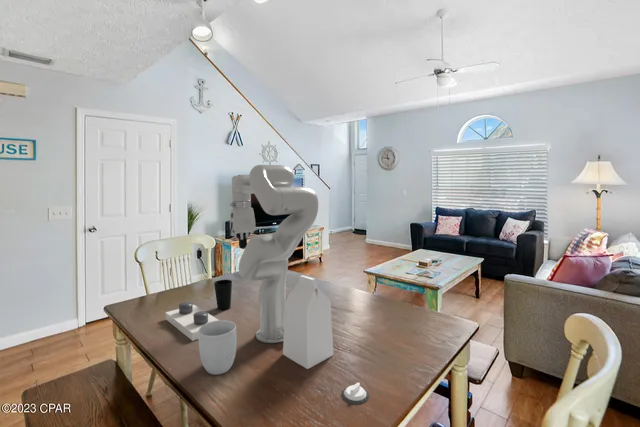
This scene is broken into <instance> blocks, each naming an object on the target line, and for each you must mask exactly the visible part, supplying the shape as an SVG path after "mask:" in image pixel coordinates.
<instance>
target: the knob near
mask: <svg viewBox="0 0 640 427" xmlns="http://www.w3.org/2000/svg"><path fill="white" fill-rule="evenodd" d="M208 314H209V312H208V311H205V310H204V311H200V312H196V313H195V314H194V315H193V316H194V324H198V325H200V324H204V323H207V322H208Z"/></svg>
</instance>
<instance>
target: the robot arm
mask: <svg viewBox="0 0 640 427" xmlns="http://www.w3.org/2000/svg"><path fill="white" fill-rule="evenodd" d="M294 182H295V175H294V173H293V171H292V169H291V168H290V167H288V166H286V165H282V164H257V165H255V166H253V167H252V168H251V170H250V173H249V174H239V175H233V176H232V178H231V194H232V199H231V200H232V201H231V203H230V204H229V206H230V207H232V208H231V211H230V215H229V231H230V236H232V237H236V238H237V240H238V246H239V247H238V248H239V249H242V250H243V252H242V254H241V257H240V260H239V263H238V274H239V276H240V278H241V279H242V280H243V281H245V282H247V283H249V282H250V283H252V282H258V281H261V284H260V286H259V296H258V297H259V329H258V330H257V331H256V333H255V338H256V339H257V340H258V341H259V342H261V343H266V344H276V343H281V342H283V341H284V315H285V300H286V298H287V296H286V295H287V294H286V292H287V290H286V288H287V286H286V285H287V274H288V269H289V259H290V258H291V256H292V255H293V253H294V252H295V251H296V248H297V247H298V246H299V244H300V243H301V241H302V239H303V237H304V236H305V235H306V234H307V233H308V231H309V230H310V229H311V228H312V226H313V224H314V223H315V221H316V219H317V216H318V212H319V198H318V195H317V193H316V192H315V190H313V189H311V188H309V187H305V186H292V185H293V183H294ZM252 194H254V196H255V198H256V199H257V201H258V202H259V205H260V207H261V208H262V210H263V211H264V212H265V213H266V214H268V215H271V216H282V215H288V216H287V217H286V218H284V219H283V220H282V221H281V222H280V223H279V225H278V227H277V229H276V231H274V232H272V233H266V234H258V235H255V236H253V237H251V238H250V239H249V236H250V235H252V234H254V233H255V231H256V218H255V212H254V208H253V207H252ZM248 239H249V240H248Z"/></svg>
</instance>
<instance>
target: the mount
mask: <svg viewBox="0 0 640 427" xmlns="http://www.w3.org/2000/svg"><path fill="white" fill-rule="evenodd" d="M200 311H205V310H203V309H202V308H200V307H198V305H195V304H193V311H192V312H190V313H187V314H181V313H179V308H177V309H173V310H169V311H166V312H165V320H166V321H167V322H169V323H170V324H171V325H172V326H174V327H175V328H176V329H177V330H178V331H180V332H181V333H182V334H183V335H185V336H186V338H189V340H191V341H192V342H194V341H196V340H197V341H198V340H199V339H198V338H199V335H198V331H199V328H200V327H201V326H203V325H204V324H206V323H204V324H200V325H198V324H194V316H193V315H194V314H195V313H196V312H200ZM218 320H219V319H218V318H216V317H215V316H213V315H212V314H210V313H208V322H207V323H209V322H212V321H218Z"/></svg>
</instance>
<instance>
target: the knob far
mask: <svg viewBox="0 0 640 427" xmlns="http://www.w3.org/2000/svg"><path fill="white" fill-rule="evenodd" d="M193 305H194V303H193V302H192V301H185V302H180V303H179V304H178V309H179V313H181V314H187V313H190V312H192V311H193Z"/></svg>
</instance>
